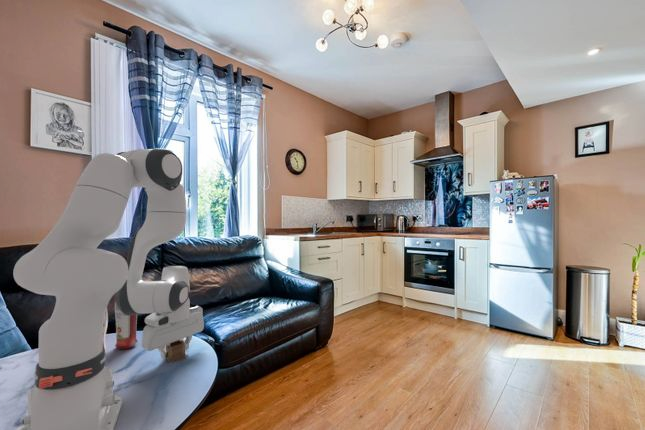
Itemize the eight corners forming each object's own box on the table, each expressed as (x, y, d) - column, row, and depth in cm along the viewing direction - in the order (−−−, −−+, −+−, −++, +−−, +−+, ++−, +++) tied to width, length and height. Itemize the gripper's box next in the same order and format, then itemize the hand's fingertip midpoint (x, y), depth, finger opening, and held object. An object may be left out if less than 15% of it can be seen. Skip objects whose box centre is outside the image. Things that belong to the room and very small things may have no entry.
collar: (185, 359, 98) (185, 344, 98) (168, 363, 95) (168, 348, 95) (181, 352, 102) (181, 338, 102) (165, 356, 99) (165, 341, 99)
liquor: (109, 350, 104) (109, 272, 104) (126, 341, 111) (126, 269, 111) (126, 352, 102) (126, 273, 102) (143, 343, 109) (142, 269, 109)
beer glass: (86, 349, 105) (86, 307, 105) (110, 345, 108) (110, 305, 108) (80, 357, 98) (80, 314, 98) (105, 353, 101) (105, 311, 101)
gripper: (197, 303, 109) (197, 339, 109) (139, 319, 92) (139, 363, 92) (207, 305, 106) (207, 343, 106) (149, 323, 88) (149, 369, 88)
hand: (175, 353), depth 98 cm, fingers closed on collar, 6 cm apart
